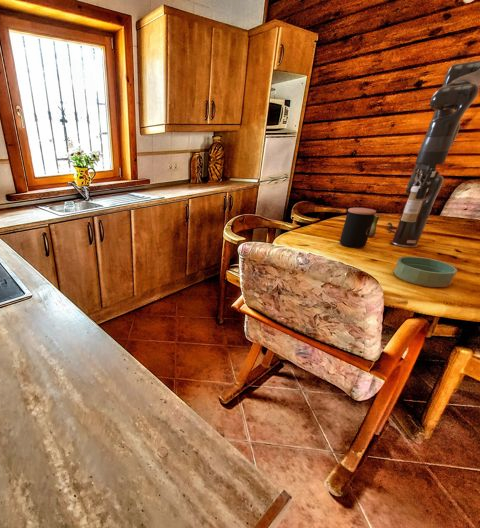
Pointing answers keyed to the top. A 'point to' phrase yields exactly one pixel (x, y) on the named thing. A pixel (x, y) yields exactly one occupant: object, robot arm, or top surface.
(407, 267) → the shallow teal bowl
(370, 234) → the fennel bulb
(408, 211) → the sprinkles bottle
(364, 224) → the coffee jar
